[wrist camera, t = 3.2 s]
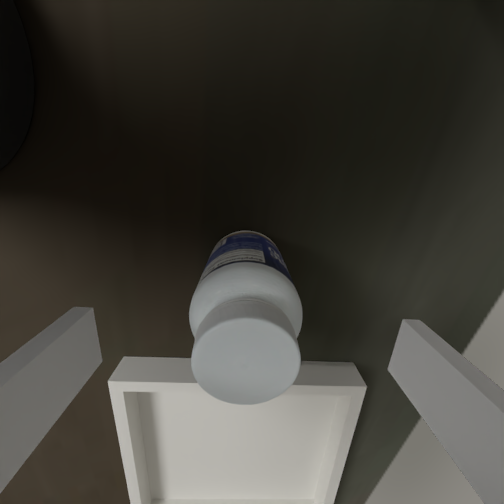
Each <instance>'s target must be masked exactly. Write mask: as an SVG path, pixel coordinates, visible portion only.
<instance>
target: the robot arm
mask: <svg viewBox="0 0 504 504" xmlns="http://www.w3.org/2000/svg"><path fill="white" fill-rule="evenodd" d="M33 104H34V74H33V65H32V59H31V53H30V49H29V45H28V41H27V37H26V34H25V30H24V27H23V24H22V21H21V19H20V16H19V13H18V11H17V8H16V6H15V4H14V1H13V0H0V170H1V169H2V168H3V167H4V166H5V165H6V164H7V163H8V162H9V161H10V160H11V159H12V158H13V157H14V155H15V154H16V153H17V151H18V150H19V148H20V147H21V145H22V143H23V141H24V139H25V137H26V134H27V131H28V129H29V125H30V122H31V117H32V112H33ZM101 362H102V356H101V351H100V345H99V339H98V334H97V328H96V323H95V317H94V311H93V308H90V307H73V308H72V309H70V310H69V311H68V312H66V313H65V314H64V315H63V316H61V317H60V318H59V319H57V320H56V321H55V322H53V323H52V324H51V325H49V326H48V327H47V328H46V329H44V330H43V331H42V332H40V333H39V334H38V335H36V336H35V337H34V338H33V339H31V340H30V341H29V342H27V343H26V344H25V345H23V346H22V347H21V348H19V349H18V350H17V351H16V352H14V353H13V354H12V355H10V356H9V357H8V358H6V359H5V360H4V361H2V362H1V363H0V493H1V492H2V490H3V489H4V488H5V487H6V485H7V484H8V483H9V481H10V480H11V479H12V478H13V476H14V475H15V474H16V472H17V471H18V470H19V468H20V467H21V466H22V465H23V463H24V462H25V461H26V459H27V458H28V457H29V456H30V454H31V453H32V452H33V450H34V449H35V448H36V446H37V445H38V444H39V443H40V441H41V440H42V439H43V437H44V436H45V435H46V434H47V432H48V431H49V430H50V428H51V427H52V426H53V424H54V423H55V422H56V421H57V419H58V418H59V417H60V415H61V414H62V413H63V412H64V410H65V409H66V408H67V406H68V405H69V404H70V402H71V401H72V400H73V399H74V397H75V396H76V395H77V393H78V392H79V391H80V390H81V388H82V387H83V386H84V384H85V383H86V382H87V380H88V379H89V378H90V377H91V375H92V374H93V373H94V371H95V370H96V369H97V368H98V366H99V365H100V364H101ZM388 371H389V372H390V374H391V375H392V376H393V378H394V379H395V381H396V382H397V383H398V385H399V386H400V387H401V389H402V390H403V392H404V393H405V394H406V396H407V397H408V399H409V400H410V401H411V403H412V404H413V405H414V407H415V408H416V410H417V411H418V412H419V414H420V415H421V417H422V418H423V419H424V421H425V422H426V424H427V425H428V426H429V428H430V429H431V430H432V432H433V433H434V435H435V436H436V437H437V439H438V440H439V441H440V443H441V444H442V446H443V447H444V448H445V450H446V451H447V453H448V454H449V455H450V457H451V458H452V460H453V461H454V462H455V464H456V465H457V467H458V468H459V469H460V471H461V472H462V473H463V475H464V476H465V478H466V479H467V480H468V482H469V483H470V484H471V486H472V487H473V489H474V490H475V491H476V493H477V494H478V496H479V497H480V498H481V500H482V501H483V503H484V504H504V390H503V389H501V388H500V387H499V386H498V385H497V384H495V383H494V382H493V381H492V380H491V379H490V378H488V377H487V376H486V375H485V374H484V373H482V372H481V371H480V370H479V369H478V368H476V367H475V366H474V365H473V364H472V363H470V362H469V361H468V360H467V359H466V358H465V357H463V356H462V355H461V354H460V353H459V352H457V351H456V350H455V349H454V348H453V347H452V346H450V345H449V344H448V343H447V342H446V341H444V340H443V339H442V338H441V337H440V336H438V335H437V334H436V333H435V332H434V331H432V330H431V329H430V328H429V327H428V326H427V325H425V324H424V323H423V322H422V321H421V320H411V319H403V320H402V323H401V326H400V330H399V333H398V336H397V340H396V343H395V346H394V350H393V353H392V356H391V360H390V363H389V366H388Z"/></svg>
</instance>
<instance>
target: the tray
mask: <svg viewBox="0 0 504 504" xmlns="http://www.w3.org/2000/svg"><path fill="white" fill-rule="evenodd" d="M108 386H109V391H110V396H111V402H112V407H113V412H114V418H115V423H116V428H117V434H118V439H119V444H120V449H121V455H122V460H123V465H124V471H125V476H126V481H127V487H128V492H129V497H130V503H131V504H334V500H335V497H336V493H337V490H338V486H339V483H340V479H341V476H342V472H343V469H344V465H345V462H346V458H347V455H348V451H349V448H350V444H351V441H352V437H353V434H354V430H355V427H356V423H357V420H358V416H359V413H360V409H361V406H362V402H363V399H364V396H365V392H366V389H367V386H366V384H365V382H364V380H363V379H362V377H361V375H360V373H359V372H358V370H357V368H356V366H355V364H354V363H353V362H323V361H301V364H300V369H299V373H298V376H297V377H296V379H295V381H294V382H293V384H292V385H291V386H290V387H289V388H288V389H287V390H286V391H285V392H284V393H282V394H281V395H279V396H278V397H275V398H274V399H271V400H269V401H267V402H263V403H259V404H253V405H238V404H231V403H227V402H224V401H221V400H218V399H216V398H214V397H213V396H211V395H210V394H208V393H207V392H206V391H204V390H203V389H202V388H201V386H200V385H199V384H198V382H197V381H196V379H195V377H194V375H193V372H192V367H191V358H165V357H126V356H124V357H123V359H122V360H121V362H120V363H119V365H118V366H117V368H116V369H115V371H114V372H113V374H112V375H111V377H110V379H109V380H108Z"/></svg>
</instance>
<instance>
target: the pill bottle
mask: <svg viewBox="0 0 504 504" xmlns="http://www.w3.org/2000/svg"><path fill="white" fill-rule="evenodd" d="M189 321H190V326H191V330H192V333H193V336H194V338H195V342H194V346H193V351H192V357H191V367H192V372H193V375H194V377H195V379H196V381H197V382H198V384H199V385H200V386H201V388H202V389H203V390H204V391H206V392H207V393H208V394H210V395H211V396H213V397H214V398H216V399H218V400H221V401H224V402H227V403H231V404H238V405H253V404H259V403H263V402H267V401H269V400H271V399H274V398H275V397H278V396H279V395H281V394H282V393H284V392H285V391H286V390H287V389H288V388H289V387H290V386H291V385H292V384H293V382H294V381H295V379H296V377H297V376H298V373H299V369H300V364H301V355H300V350H299V346H298V342H297V337H298V335H299V332H300V330H301V325H302V305H301V301H300V298H299V295H298V292H297V290H296V288H295V286H294V283H293V281H292V279H291V276H290V274H289V272H288V270H287V267H286V265H285V263H284V260H283V258H282V256H281V254H280V252H279V250H278V248H277V247H276V245H275V244H274V243H273V242H272V241H271V240H270V239H269V238H268V237H266V236H265V235H263V234H261V233H258V232H254V231H238V232H234V233H231V234H229V235H227V236H225V237H224V238H222V239H221V240H220V241H219V242H218V243H217V245H216V246H215V247H214V249H213V251H212V253H211V255H210V257H209V259H208V262H207V264H206V266H205V269H204V271H203V274H202V276H201V278H200V281H199V283H198V285H197V288H196V290H195V292H194V294H193V297H192V301H191V304H190V310H189Z"/></svg>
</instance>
